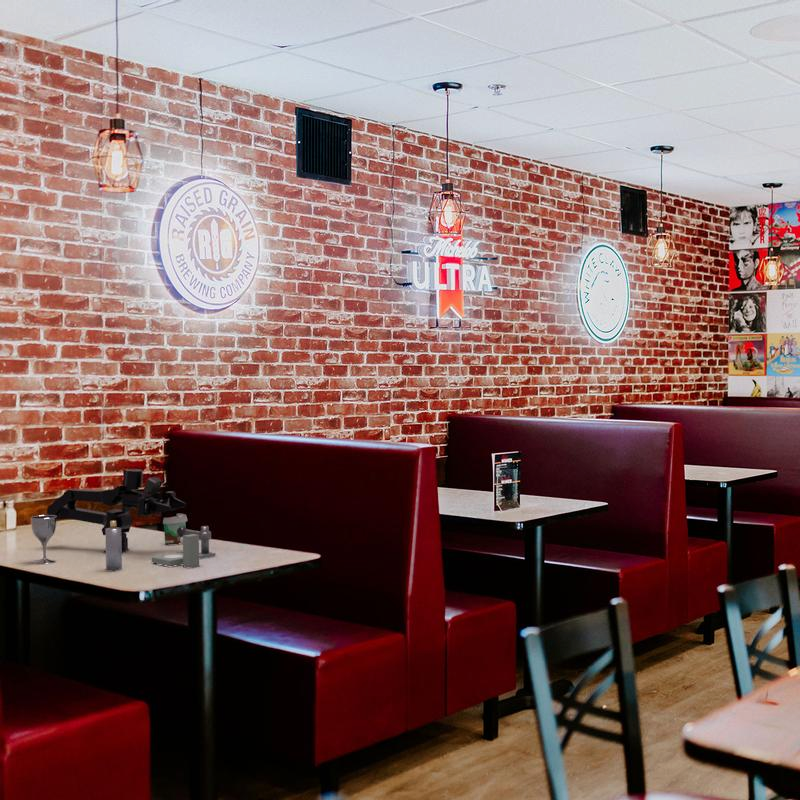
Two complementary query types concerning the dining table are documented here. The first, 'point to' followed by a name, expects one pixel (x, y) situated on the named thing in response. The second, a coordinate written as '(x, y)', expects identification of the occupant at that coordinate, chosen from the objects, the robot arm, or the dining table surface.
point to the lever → (203, 536)
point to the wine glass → (44, 532)
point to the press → (184, 553)
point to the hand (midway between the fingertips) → (178, 506)
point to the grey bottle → (113, 547)
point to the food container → (173, 528)
